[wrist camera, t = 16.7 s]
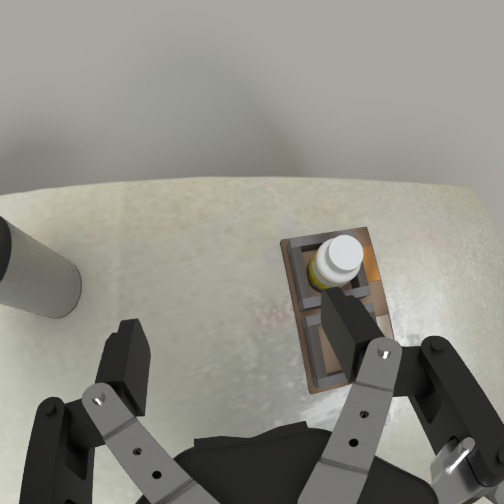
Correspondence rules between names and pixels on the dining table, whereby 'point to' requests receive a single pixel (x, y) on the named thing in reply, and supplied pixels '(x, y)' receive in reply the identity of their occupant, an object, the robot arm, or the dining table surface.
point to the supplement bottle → (335, 263)
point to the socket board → (309, 304)
